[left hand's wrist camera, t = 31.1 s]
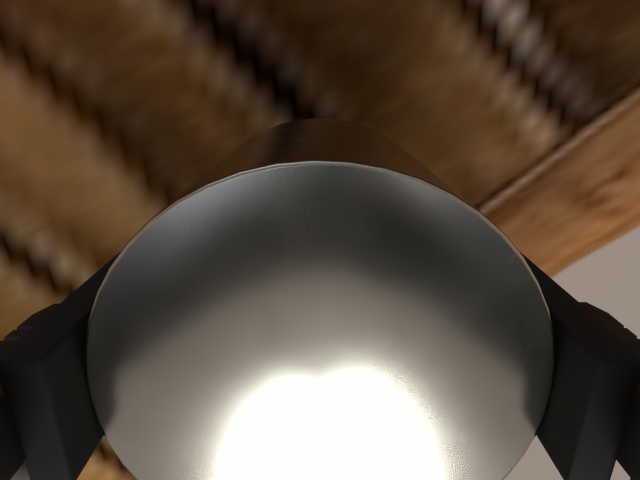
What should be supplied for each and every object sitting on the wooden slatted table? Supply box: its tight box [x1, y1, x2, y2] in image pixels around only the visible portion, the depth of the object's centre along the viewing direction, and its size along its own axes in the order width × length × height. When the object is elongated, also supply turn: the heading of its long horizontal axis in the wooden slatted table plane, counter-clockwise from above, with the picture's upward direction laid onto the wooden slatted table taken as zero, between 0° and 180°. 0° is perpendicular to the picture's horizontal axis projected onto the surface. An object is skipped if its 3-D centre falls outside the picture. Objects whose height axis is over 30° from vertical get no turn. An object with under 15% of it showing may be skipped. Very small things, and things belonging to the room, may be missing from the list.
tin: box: [85, 118, 555, 480], centre depth 12 cm, size 9×9×8 cm
